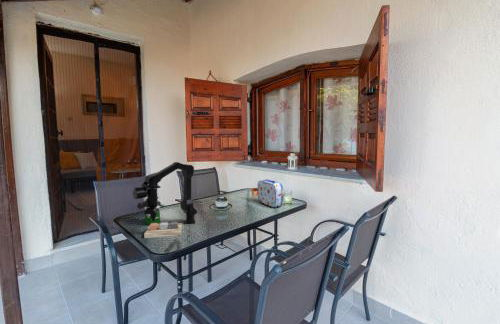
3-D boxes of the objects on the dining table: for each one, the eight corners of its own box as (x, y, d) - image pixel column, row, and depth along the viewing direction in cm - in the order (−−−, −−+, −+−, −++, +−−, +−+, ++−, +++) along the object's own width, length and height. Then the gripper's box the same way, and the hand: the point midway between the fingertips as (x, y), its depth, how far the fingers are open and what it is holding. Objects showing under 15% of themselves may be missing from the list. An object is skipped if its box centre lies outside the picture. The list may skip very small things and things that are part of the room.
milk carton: (150, 226, 162) (148, 196, 160) (143, 223, 168) (141, 194, 165) (162, 222, 169) (161, 194, 166) (155, 220, 174) (153, 192, 172)
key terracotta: (151, 228, 153) (150, 223, 152) (157, 228, 153) (157, 223, 153) (149, 231, 149) (149, 225, 148) (156, 230, 149) (156, 225, 149)
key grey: (161, 228, 154) (161, 222, 153) (168, 227, 154) (167, 222, 154) (160, 230, 150) (160, 225, 149) (167, 229, 151) (166, 224, 150)
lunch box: (285, 207, 203) (286, 181, 201) (275, 210, 197) (276, 182, 195) (265, 200, 226) (265, 176, 223) (256, 202, 220) (256, 177, 218)
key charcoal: (171, 227, 155) (171, 222, 154) (178, 226, 156) (177, 221, 155) (170, 229, 151) (170, 224, 151) (177, 229, 152) (177, 223, 151)
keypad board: (149, 229, 157) (149, 225, 157) (182, 226, 161) (181, 223, 161) (144, 238, 144) (144, 233, 143) (180, 235, 147) (180, 231, 147)
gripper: (141, 193, 156) (143, 217, 158) (133, 200, 138) (135, 227, 140) (160, 192, 159) (161, 216, 160) (154, 199, 140) (156, 226, 142)
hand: (153, 221), depth 150 cm, fingers closed
